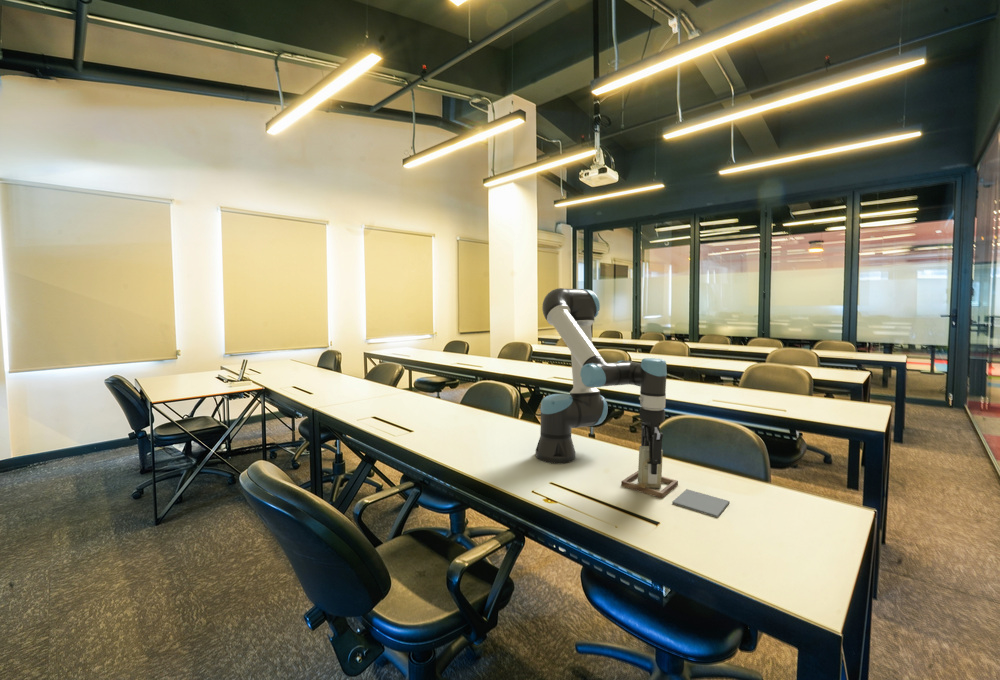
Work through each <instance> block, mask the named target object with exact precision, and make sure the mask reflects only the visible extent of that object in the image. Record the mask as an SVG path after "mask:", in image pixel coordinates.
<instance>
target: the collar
mask: <svg viewBox="0 0 1000 680" xmlns="http://www.w3.org/2000/svg"><path fill="white" fill-rule="evenodd" d="M635 480H638V470H636V471H635V472H634V473H632V474H630V475H629V476H627V477H626V478H624V479H623V480H621V481H620V483H621V484H620V486H621V487H624V488H628V489H631V490H634V491H636V492H641V493H644V494H647V495H650V496H653V497H656V498H660V499H663V498H664V497H666V496H667V495H668V494H669V493H671V492H672V491H673V490H674V489H676V488H677V487H679V486H678V485H679V481H678V480H677V479H673V478H670V477H665V476H663V475H662V476H661V483H664V484H667V485H666V486H665V487H664V488H663V489H661V490H656V489H654V488H647V487H646V484H642V483H638V482H637V483H633V482H634V481H635Z"/></svg>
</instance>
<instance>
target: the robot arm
mask: <svg viewBox="0 0 1000 680" xmlns="http://www.w3.org/2000/svg"><path fill="white" fill-rule="evenodd" d="M541 307H542V315H543V316H544V319H545V320H546V322H547V323H548V324H549V325H551V326H553V328H554V329H555V330H556V332H557V333H558V334H559V336H560V338H561V339H562V340H563V342H564V344H565V345H566V346H567V348H568V349H569V351H570V358H571V371H572V372H571V375H572V389H571V390H570V391H569V394H568V393H553V394H549V395H546V396H544V397H543V398H542V400H541V403H540V435H539V438H538V442H537V444H536V448H535V458H536V459H537V460H539V461H541V462H544V463H548V464H555V465H556V464H568V463H569V464H570V463H571V462H575V460H576V455H577V453H576V449H575V446H574V443H573V439H572V438H573V437H572V429H576V428H584V427H593V426H598V425H600V424H602V423H604V420H605V419H606V417H607V415H608V409H609V408H608V402H607V400H606V399H605V397H604V396H603V395H601V390H600V389H599V388H601V387H610V386H614V387H615V386H625V385H627V386H628V385H633V386H637V387H639V389H640V392H639V394H640V396H639V397H638V400H639V406H640V407H639V419H640V420H641V421H643V422H641V423H640V424H641V425H640V426H641V427H640V428H641V443H640V446H649V459H650V461H649V462H647V463H648V484H657V473H658V464H661V449H662V450H663V448H662V447H663V445H662V444H663V437H664V434H663V432H661V429H660V423H663V422H664V421H665V419H666V410H665V409H666V404H667V403H666V400H667V399H666V390H667V388H666V387H667V376H668V371H667V362H666V360H665V359H662V358H656V357H655V358H654V357H651V358H649V357H647V358H646V357H645V358H642V359H641V362H635V361H631V360H618V361H616V362H607V361H605V359H604V358H603V357H602V355H601V354H600V352H599V351H598V350H597V348H596V347H595V345H594V344H593V335H592V326H593V324H594V323H595V319H596V317H597V316H598V315H599V311H600V308H601V305H600V300H599V297H598V296H597V294H596V293H595V292H594V291H593V290H591V289H585V288H564V287H563V288H560V287H558V288H554V289H553V290H551V291H549V292H548V293H547V294H546V296H545V297H544V299H543V301H542V306H541Z"/></svg>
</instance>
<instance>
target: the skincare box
mask: <svg viewBox="0 0 1000 680" xmlns="http://www.w3.org/2000/svg"><path fill="white" fill-rule="evenodd" d="M663 456H664V450H663V448H662V449H661V464H658V473H657V484H648V463H647V462H649V461H650V459H649V446H641V445H639V451H638V466H637V467H638V470H637V471H638V478H637V484H638V483H642V484H646V487H647V488H650V489H654V488H655V489H660V488H662V482H661V476H662V477H663V474H662V472H663V458H664V457H663Z"/></svg>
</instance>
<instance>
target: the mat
mask: <svg viewBox="0 0 1000 680" xmlns="http://www.w3.org/2000/svg"><path fill="white" fill-rule="evenodd" d="M671 503H672V505H675V506H679V507H682V508H685V509H688V510H691V511H694V512H697V513H701V514H705V515H707V516H711V517H713V518H719V516H720V515H722V513H723V512H724V511H725V510H726V508H727V506H728V505H729V504H730V501H729V500H727V499H725V498H724V499H723V498H720V497H716V496H714V495H710V494H705V493H702V492H698V491H695V490H691V489H688V488H686V489H685V490H684V491H683V492H681V493H680V495H678V496H677V497H676V498H675V499H674V500H673V501H671Z"/></svg>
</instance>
